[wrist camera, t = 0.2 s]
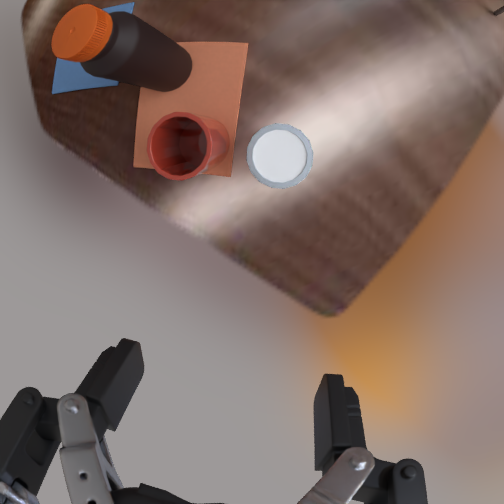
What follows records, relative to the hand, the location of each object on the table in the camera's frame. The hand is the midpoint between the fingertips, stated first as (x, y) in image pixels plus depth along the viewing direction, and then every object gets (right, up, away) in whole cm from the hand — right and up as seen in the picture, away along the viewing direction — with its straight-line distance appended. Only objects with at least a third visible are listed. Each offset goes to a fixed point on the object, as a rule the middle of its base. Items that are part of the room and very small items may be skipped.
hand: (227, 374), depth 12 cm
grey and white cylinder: (+5, +18, +24) cm, 30 cm away
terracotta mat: (-7, +24, +22) cm, 34 cm away
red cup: (-5, +19, +24) cm, 31 cm away
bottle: (-10, +29, +21) cm, 37 cm away
